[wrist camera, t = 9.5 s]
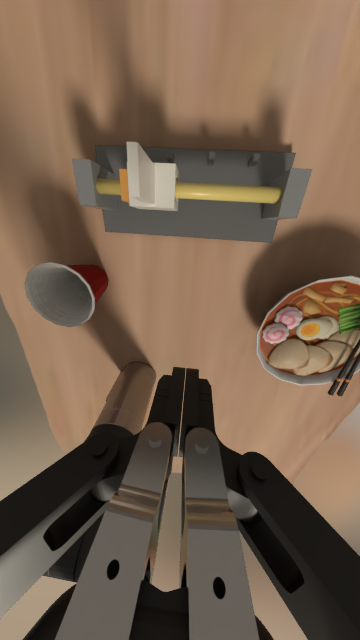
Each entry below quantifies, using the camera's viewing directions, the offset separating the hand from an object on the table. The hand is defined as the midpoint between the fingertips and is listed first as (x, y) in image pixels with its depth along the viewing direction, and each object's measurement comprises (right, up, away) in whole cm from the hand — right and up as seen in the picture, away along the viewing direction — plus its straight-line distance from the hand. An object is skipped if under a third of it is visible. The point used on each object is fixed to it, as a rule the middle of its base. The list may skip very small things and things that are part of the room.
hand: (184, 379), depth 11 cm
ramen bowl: (+26, +4, +28) cm, 38 cm away
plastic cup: (-18, +13, +28) cm, 36 cm away
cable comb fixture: (+1, +24, +20) cm, 32 cm away
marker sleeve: (-3, +23, +16) cm, 28 cm away
